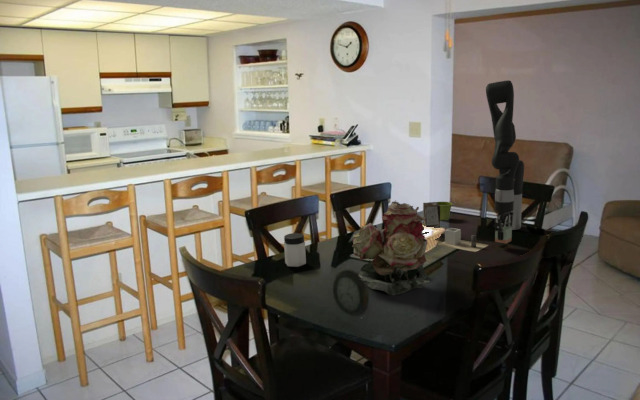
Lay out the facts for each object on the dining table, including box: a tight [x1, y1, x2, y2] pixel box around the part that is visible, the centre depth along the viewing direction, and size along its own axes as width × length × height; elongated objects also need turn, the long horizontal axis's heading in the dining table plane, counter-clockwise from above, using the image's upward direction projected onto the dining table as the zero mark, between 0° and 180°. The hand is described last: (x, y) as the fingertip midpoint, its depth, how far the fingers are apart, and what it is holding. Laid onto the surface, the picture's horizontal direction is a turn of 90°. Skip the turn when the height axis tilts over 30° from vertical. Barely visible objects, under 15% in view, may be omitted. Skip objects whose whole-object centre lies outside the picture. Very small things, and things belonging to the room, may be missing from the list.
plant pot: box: [436, 201, 453, 222], centre depth 275 cm, size 9×9×9 cm
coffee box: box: [422, 201, 441, 229], centre depth 243 cm, size 9×6×16 cm
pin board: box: [437, 234, 489, 253], centre depth 227 cm, size 12×18×6 cm, turn 46°
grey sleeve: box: [444, 227, 462, 245], centre depth 231 cm, size 5×5×6 cm
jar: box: [283, 232, 307, 268], centre depth 216 cm, size 9×8×12 cm
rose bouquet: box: [351, 200, 430, 296], centre depth 189 cm, size 26×29×30 cm
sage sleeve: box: [494, 226, 513, 245], centre depth 223 cm, size 5×5×6 cm
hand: (503, 238), depth 223 cm, fingers closed on sage sleeve, 5 cm apart
